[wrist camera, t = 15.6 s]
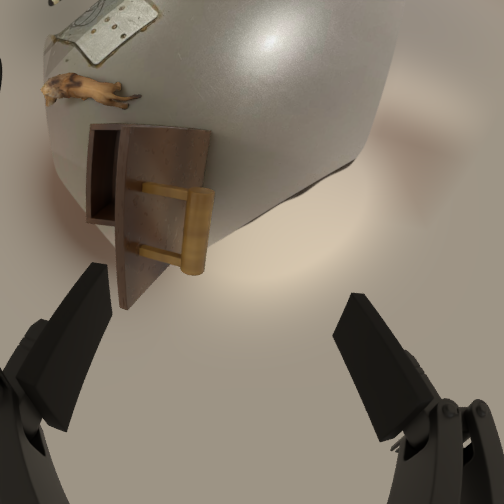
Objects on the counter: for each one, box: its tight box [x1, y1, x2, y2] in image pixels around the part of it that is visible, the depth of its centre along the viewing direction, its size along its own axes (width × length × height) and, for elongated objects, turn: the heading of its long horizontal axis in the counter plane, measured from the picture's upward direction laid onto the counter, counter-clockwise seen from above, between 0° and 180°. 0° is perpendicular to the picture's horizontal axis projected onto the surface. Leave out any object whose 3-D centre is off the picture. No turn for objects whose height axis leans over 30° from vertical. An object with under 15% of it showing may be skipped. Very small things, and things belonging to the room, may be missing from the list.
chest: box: [86, 123, 211, 226], centre depth 35 cm, size 16×14×9 cm
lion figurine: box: [41, 73, 141, 109], centre depth 28 cm, size 15×5×9 cm, turn 75°
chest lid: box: [115, 126, 215, 310], centre depth 24 cm, size 16×14×6 cm
